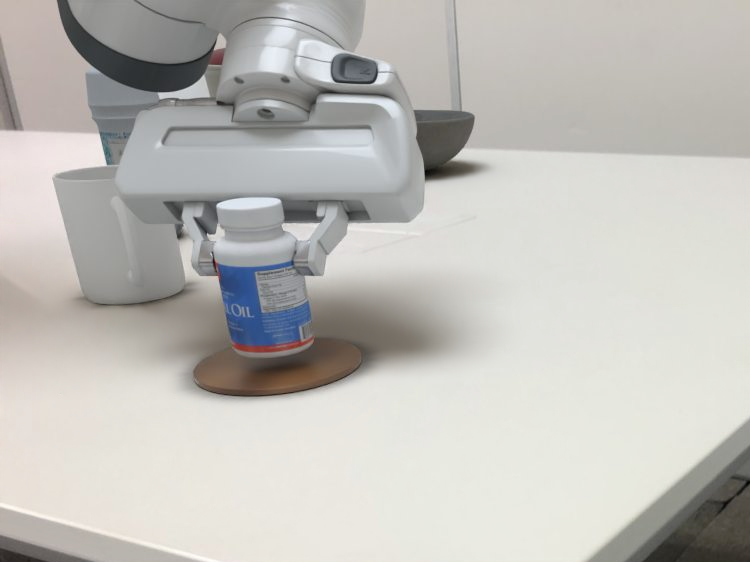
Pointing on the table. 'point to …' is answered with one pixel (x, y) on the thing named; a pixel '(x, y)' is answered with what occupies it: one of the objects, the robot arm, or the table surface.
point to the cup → (115, 241)
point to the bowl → (442, 134)
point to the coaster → (277, 369)
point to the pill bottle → (261, 280)
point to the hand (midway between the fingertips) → (257, 271)
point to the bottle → (116, 113)
